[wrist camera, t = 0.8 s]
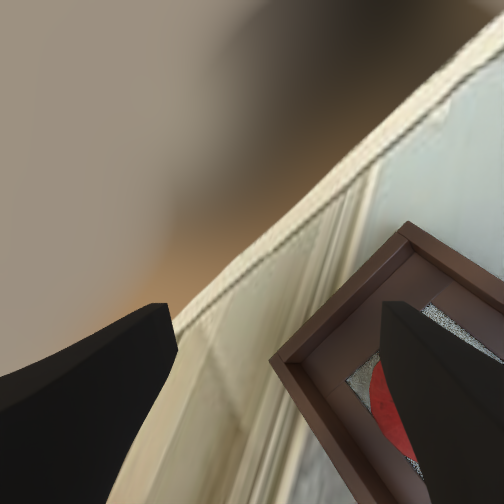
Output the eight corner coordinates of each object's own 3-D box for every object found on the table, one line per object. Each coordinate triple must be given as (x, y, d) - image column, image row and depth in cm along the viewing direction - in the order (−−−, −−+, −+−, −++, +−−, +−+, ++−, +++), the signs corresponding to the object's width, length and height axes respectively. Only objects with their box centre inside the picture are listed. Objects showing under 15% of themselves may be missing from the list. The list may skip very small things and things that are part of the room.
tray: (768, 471, 11) (837, 494, 9) (475, 643, 14) (474, 691, 12) (414, 235, 21) (407, 219, 19) (286, 361, 24) (267, 360, 22)
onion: (399, 332, 20) (364, 316, 14) (511, 368, 16) (531, 366, 10) (377, 419, 19) (330, 441, 13) (489, 478, 15) (497, 547, 9)
